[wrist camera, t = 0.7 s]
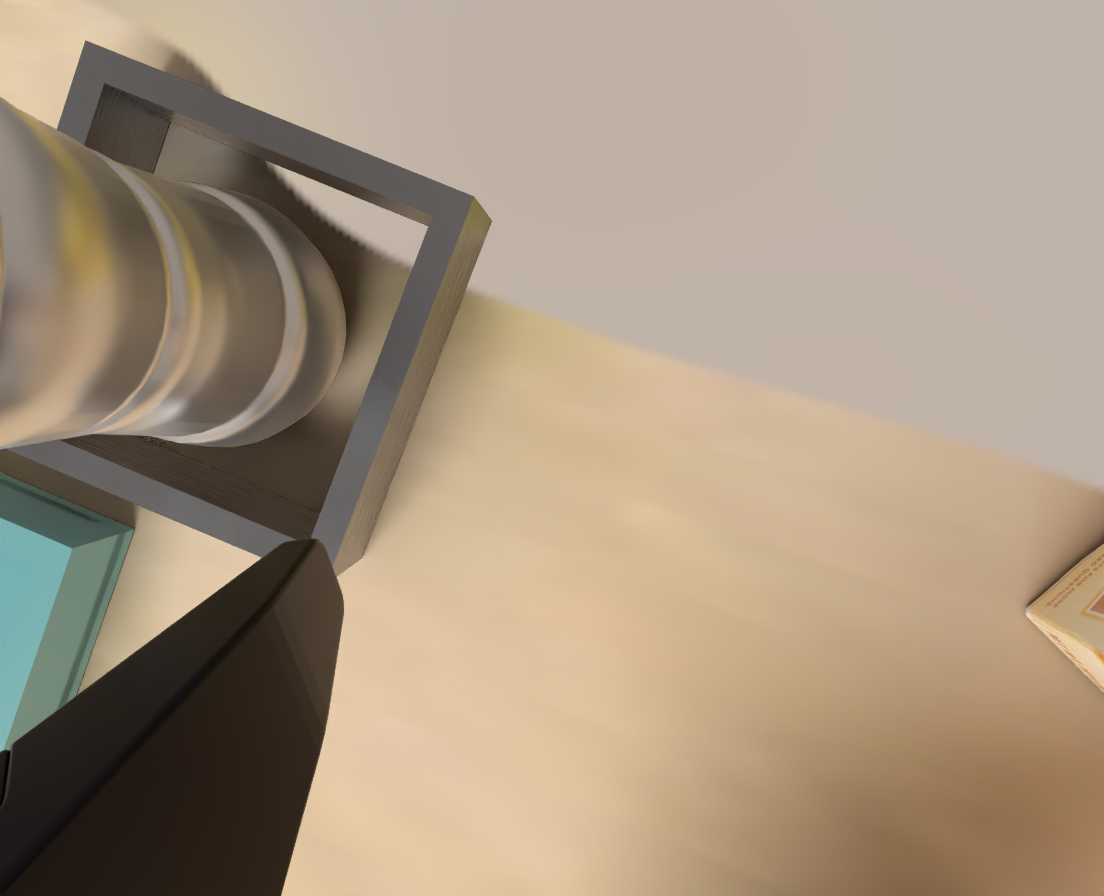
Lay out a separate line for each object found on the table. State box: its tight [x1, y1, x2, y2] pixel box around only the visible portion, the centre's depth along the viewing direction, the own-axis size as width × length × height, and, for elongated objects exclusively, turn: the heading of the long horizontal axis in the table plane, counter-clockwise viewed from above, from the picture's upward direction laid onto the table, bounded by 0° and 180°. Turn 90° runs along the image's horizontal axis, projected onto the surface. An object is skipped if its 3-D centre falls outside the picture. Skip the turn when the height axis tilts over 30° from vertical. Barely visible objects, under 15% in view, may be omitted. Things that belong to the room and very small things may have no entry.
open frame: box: [5, 40, 492, 577], centre depth 22 cm, size 11×11×3 cm
